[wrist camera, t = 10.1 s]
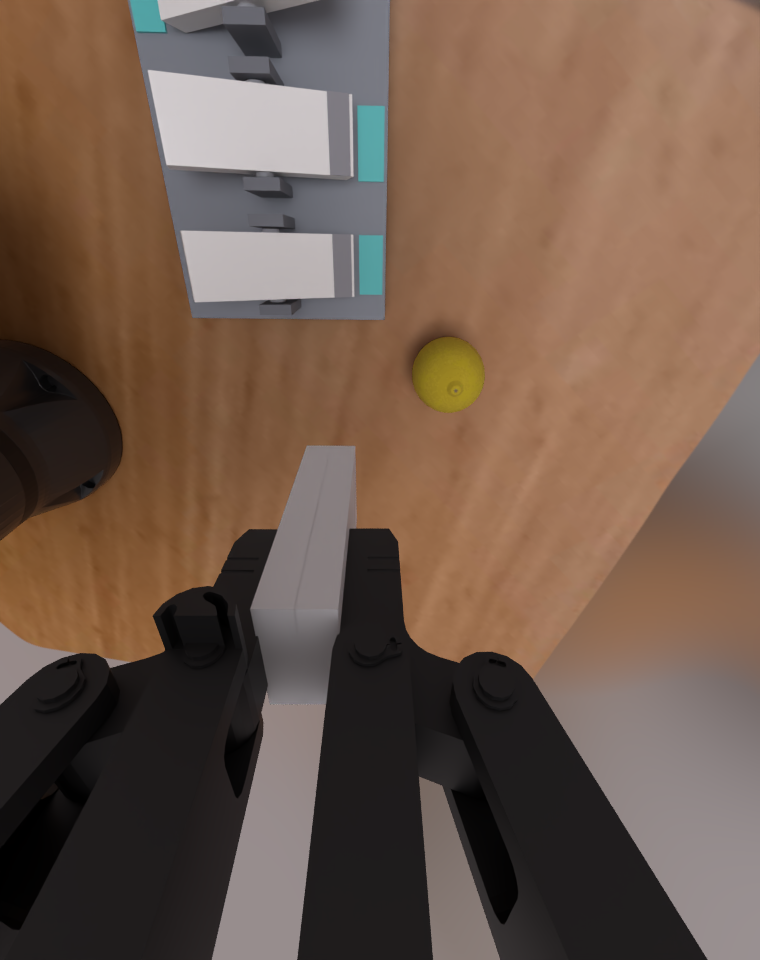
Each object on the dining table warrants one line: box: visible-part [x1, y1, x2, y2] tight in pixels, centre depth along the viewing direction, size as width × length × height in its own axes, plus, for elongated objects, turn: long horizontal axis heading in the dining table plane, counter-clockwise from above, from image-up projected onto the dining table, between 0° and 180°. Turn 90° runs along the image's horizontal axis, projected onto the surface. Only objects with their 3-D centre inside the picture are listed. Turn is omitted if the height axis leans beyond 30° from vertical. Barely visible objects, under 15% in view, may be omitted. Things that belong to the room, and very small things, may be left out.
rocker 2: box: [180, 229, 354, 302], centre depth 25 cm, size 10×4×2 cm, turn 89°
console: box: [128, 0, 390, 320], centre depth 25 cm, size 14×20×8 cm
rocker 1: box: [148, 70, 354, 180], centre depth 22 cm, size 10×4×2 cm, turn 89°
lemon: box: [412, 337, 485, 413], centre depth 32 cm, size 6×6×8 cm
